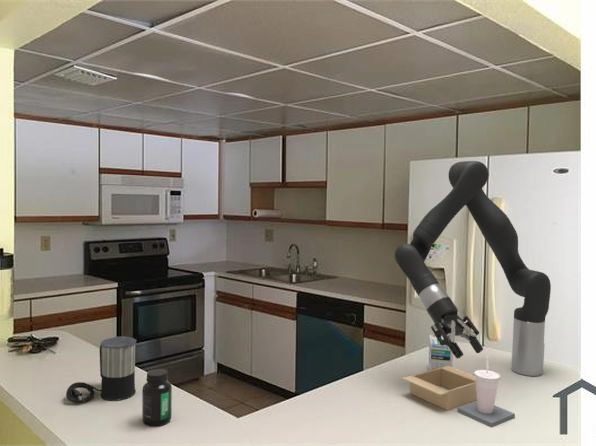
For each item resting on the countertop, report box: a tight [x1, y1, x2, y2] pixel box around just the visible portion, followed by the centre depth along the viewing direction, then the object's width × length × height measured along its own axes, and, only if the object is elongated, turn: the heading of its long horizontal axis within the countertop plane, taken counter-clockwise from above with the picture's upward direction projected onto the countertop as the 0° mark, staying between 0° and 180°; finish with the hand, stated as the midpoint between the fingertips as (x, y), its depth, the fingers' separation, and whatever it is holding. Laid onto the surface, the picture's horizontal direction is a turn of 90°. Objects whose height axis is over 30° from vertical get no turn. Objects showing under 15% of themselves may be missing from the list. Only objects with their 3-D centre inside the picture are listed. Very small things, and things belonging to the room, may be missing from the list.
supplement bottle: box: [141, 368, 173, 428], centre depth 119 cm, size 7×7×12 cm
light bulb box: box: [428, 334, 454, 371], centre depth 156 cm, size 11×7×11 cm, turn 168°
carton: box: [402, 366, 477, 411], centre depth 138 cm, size 20×13×5 cm
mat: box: [456, 400, 516, 428], centre depth 127 cm, size 10×10×1 cm
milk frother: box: [65, 336, 137, 404], centre depth 132 cm, size 14×16×15 cm
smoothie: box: [473, 356, 501, 414], centre depth 127 cm, size 6×6×14 cm
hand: (470, 354), depth 131 cm, fingers open, 8 cm apart
